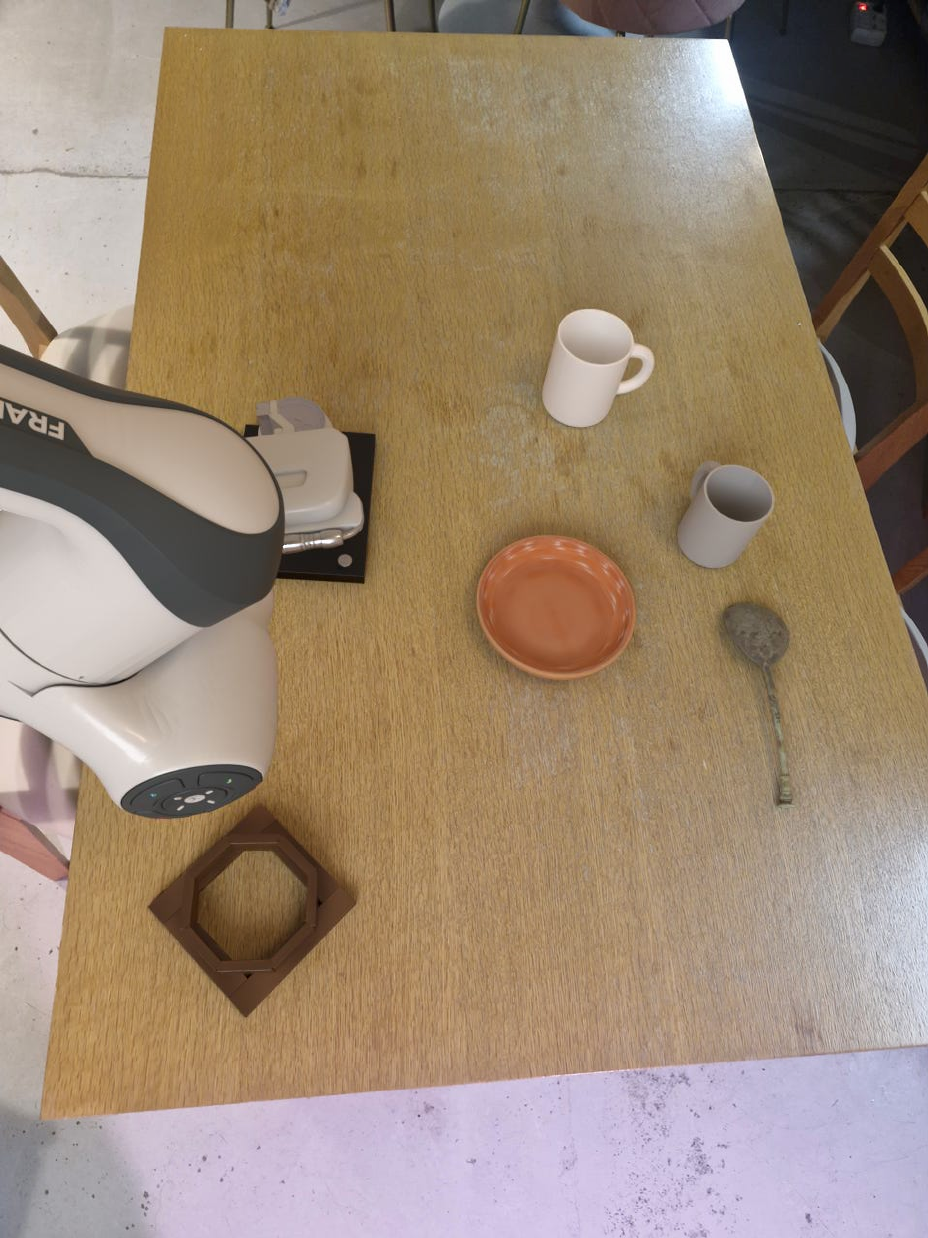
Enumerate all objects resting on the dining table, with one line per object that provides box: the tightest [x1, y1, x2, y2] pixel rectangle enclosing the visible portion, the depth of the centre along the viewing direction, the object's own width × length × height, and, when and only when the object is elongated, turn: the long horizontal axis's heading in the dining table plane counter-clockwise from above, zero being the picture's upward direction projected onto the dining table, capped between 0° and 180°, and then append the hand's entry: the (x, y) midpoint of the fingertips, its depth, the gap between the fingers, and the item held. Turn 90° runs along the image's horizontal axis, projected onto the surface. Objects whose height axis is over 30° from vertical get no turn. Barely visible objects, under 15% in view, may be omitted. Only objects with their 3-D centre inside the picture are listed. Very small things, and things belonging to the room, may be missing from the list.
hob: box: [243, 423, 377, 585], centre depth 88 cm, size 18×14×2 cm
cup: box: [676, 459, 776, 569], centre depth 89 cm, size 7×10×9 cm
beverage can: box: [258, 396, 334, 436], centre depth 83 cm, size 7×7×12 cm
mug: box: [541, 308, 655, 428], centre depth 95 cm, size 12×8×10 cm
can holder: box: [147, 803, 357, 1018], centre depth 70 cm, size 12×12×3 cm
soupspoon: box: [723, 602, 798, 809], centre depth 83 cm, size 22×3×7 cm
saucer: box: [475, 534, 637, 681], centre depth 85 cm, size 16×16×3 cm
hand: (201, 415), depth 60 cm, fingers open, 8 cm apart
